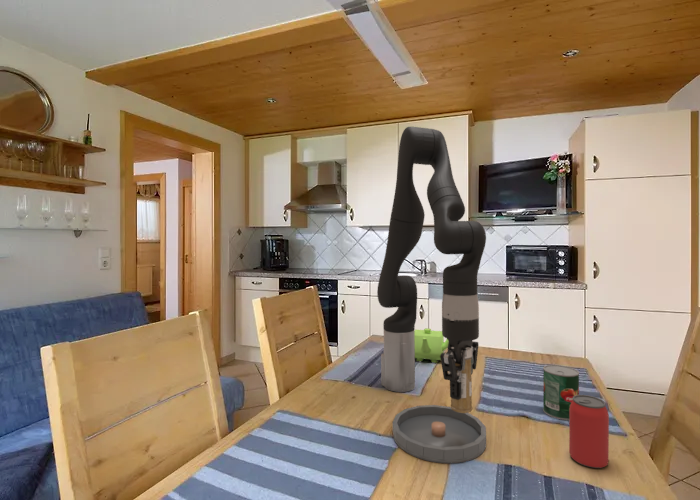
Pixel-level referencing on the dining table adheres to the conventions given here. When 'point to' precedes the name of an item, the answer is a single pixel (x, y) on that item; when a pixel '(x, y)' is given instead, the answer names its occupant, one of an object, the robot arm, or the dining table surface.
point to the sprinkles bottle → (464, 387)
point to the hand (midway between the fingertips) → (460, 394)
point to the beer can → (589, 431)
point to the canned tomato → (559, 390)
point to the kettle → (429, 345)
